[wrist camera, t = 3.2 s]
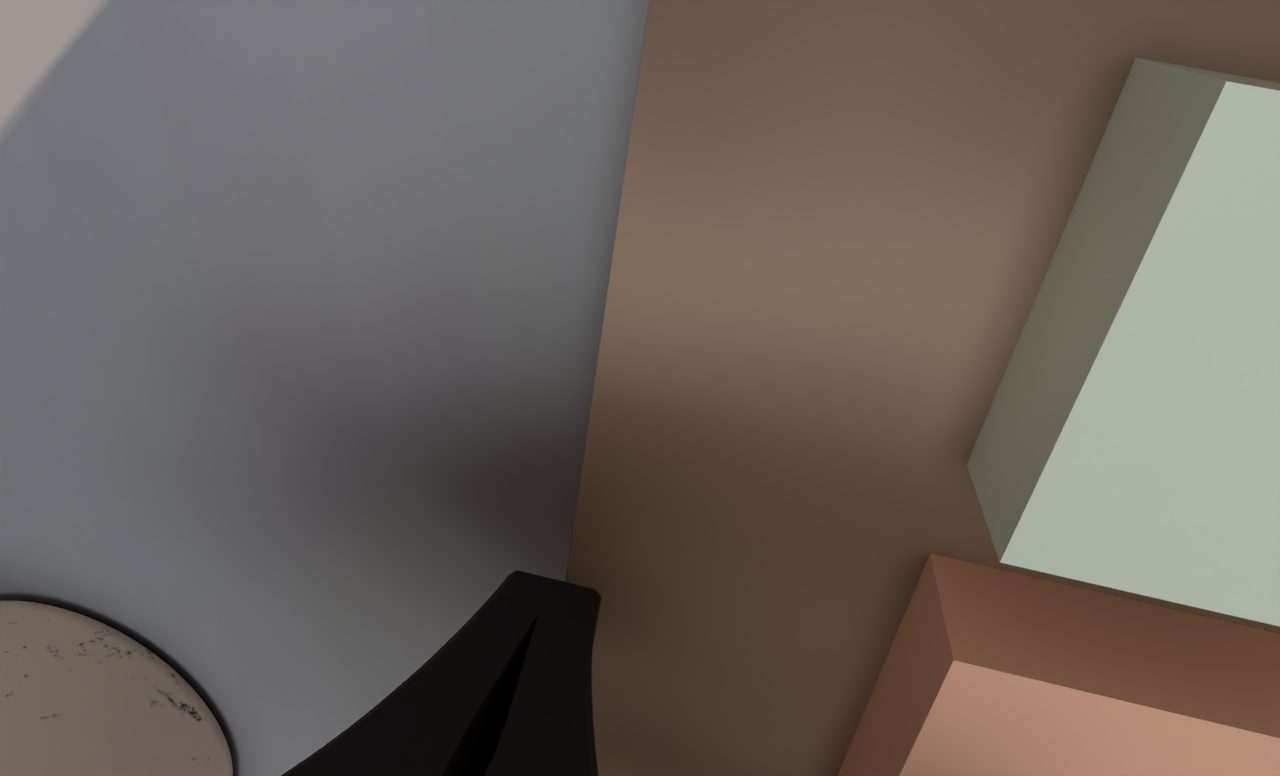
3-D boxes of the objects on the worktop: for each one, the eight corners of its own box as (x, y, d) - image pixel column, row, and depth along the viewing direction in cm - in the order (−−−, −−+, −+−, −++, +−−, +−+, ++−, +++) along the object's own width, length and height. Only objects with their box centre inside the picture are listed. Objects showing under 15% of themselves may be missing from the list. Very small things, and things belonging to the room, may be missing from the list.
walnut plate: (1268, 870, 17) (1354, 1035, 14) (570, 694, 18) (531, 816, 16) (1989, 52, 9) (2451, 85, 7) (708, -158, 11) (678, -199, 8)
